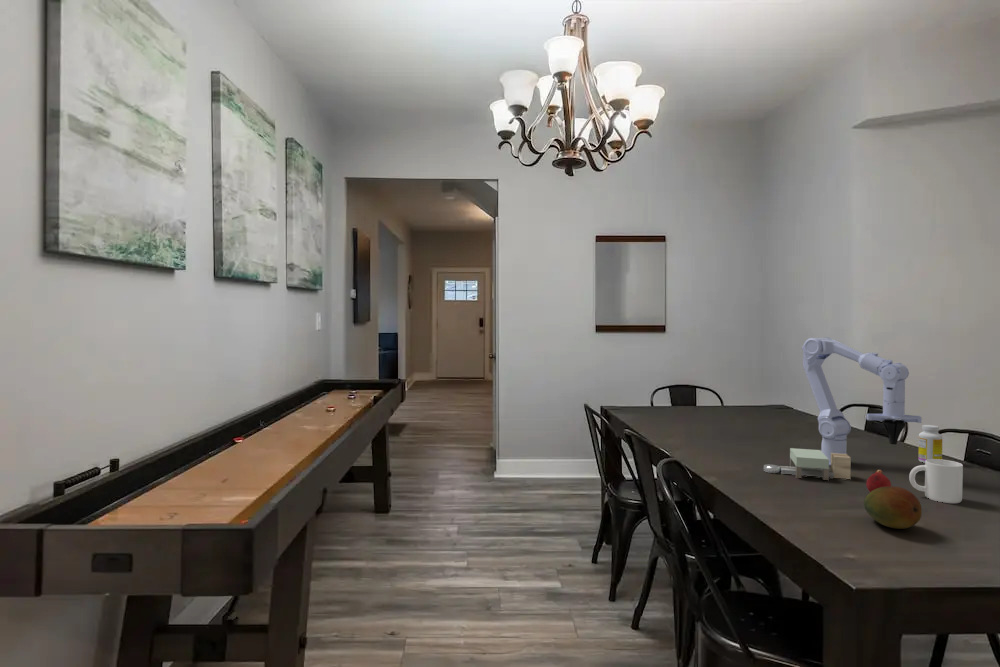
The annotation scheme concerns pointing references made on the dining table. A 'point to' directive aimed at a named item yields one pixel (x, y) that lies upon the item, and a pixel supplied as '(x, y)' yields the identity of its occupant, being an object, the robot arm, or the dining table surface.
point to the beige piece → (838, 469)
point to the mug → (940, 480)
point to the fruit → (893, 507)
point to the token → (772, 468)
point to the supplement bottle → (930, 443)
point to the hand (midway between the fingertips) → (893, 443)
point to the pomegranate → (877, 481)
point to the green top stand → (809, 461)
